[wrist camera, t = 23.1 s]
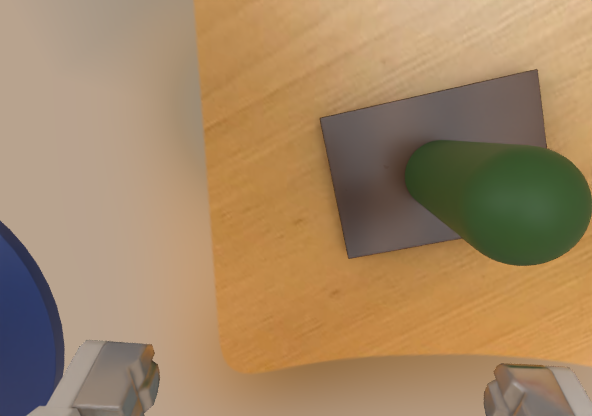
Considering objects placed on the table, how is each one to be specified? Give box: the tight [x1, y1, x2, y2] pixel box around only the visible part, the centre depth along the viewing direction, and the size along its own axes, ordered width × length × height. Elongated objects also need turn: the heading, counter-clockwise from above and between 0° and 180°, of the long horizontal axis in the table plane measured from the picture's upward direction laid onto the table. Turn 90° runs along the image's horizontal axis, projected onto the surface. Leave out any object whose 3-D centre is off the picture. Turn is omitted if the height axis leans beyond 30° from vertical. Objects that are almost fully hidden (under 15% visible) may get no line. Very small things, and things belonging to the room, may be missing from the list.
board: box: [320, 69, 547, 259], centre depth 28 cm, size 14×10×2 cm
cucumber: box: [405, 140, 592, 266], centre depth 21 cm, size 5×5×14 cm
